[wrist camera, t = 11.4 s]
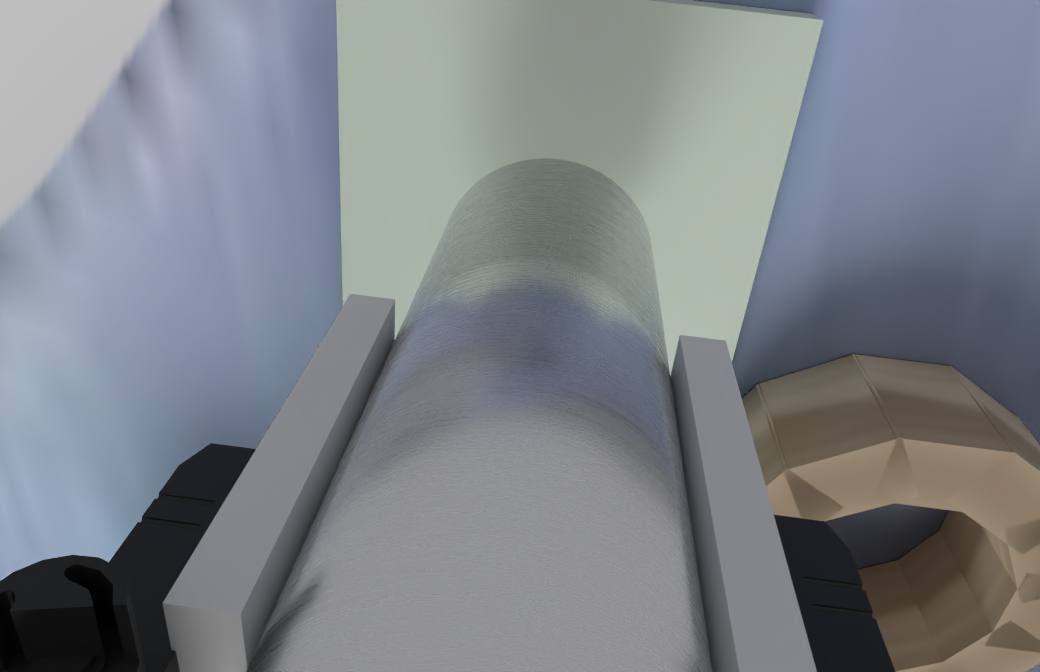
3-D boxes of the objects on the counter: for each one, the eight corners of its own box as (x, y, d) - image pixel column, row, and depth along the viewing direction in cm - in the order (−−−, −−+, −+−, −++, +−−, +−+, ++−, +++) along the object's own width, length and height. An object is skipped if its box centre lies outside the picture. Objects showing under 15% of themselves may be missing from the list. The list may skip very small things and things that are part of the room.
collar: (655, 591, 28) (663, 690, 25) (720, 336, 23) (742, 417, 19) (952, 630, 28) (1003, 736, 24) (1087, 382, 23) (1176, 472, 19)
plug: (438, 338, 19) (214, 965, 8) (447, 145, 17) (148, 660, 6) (633, 362, 19) (680, 1035, 8) (670, 172, 17) (813, 753, 6)
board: (353, 355, 24) (343, 373, 23) (347, -39, 19) (335, -35, 18) (711, 401, 24) (716, 420, 23) (813, 14, 18) (823, 20, 18)
